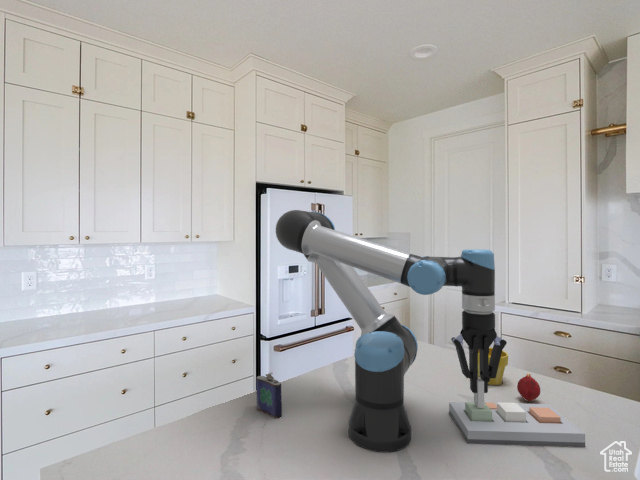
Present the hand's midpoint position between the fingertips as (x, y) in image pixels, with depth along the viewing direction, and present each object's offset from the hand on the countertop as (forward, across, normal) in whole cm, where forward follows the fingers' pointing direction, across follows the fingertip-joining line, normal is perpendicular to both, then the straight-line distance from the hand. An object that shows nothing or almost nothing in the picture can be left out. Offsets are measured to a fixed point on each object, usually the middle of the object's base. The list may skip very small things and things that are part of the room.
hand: (479, 405), depth 87 cm
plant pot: (+6, +15, +29) cm, 33 cm away
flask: (+6, -54, +5) cm, 55 cm away
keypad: (+6, +8, 0) cm, 10 cm away
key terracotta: (+5, +16, 0) cm, 16 cm away
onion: (+6, +20, +15) cm, 26 cm away
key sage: (+3, 0, 0) cm, 3 cm away
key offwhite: (+3, +8, 0) cm, 9 cm away
